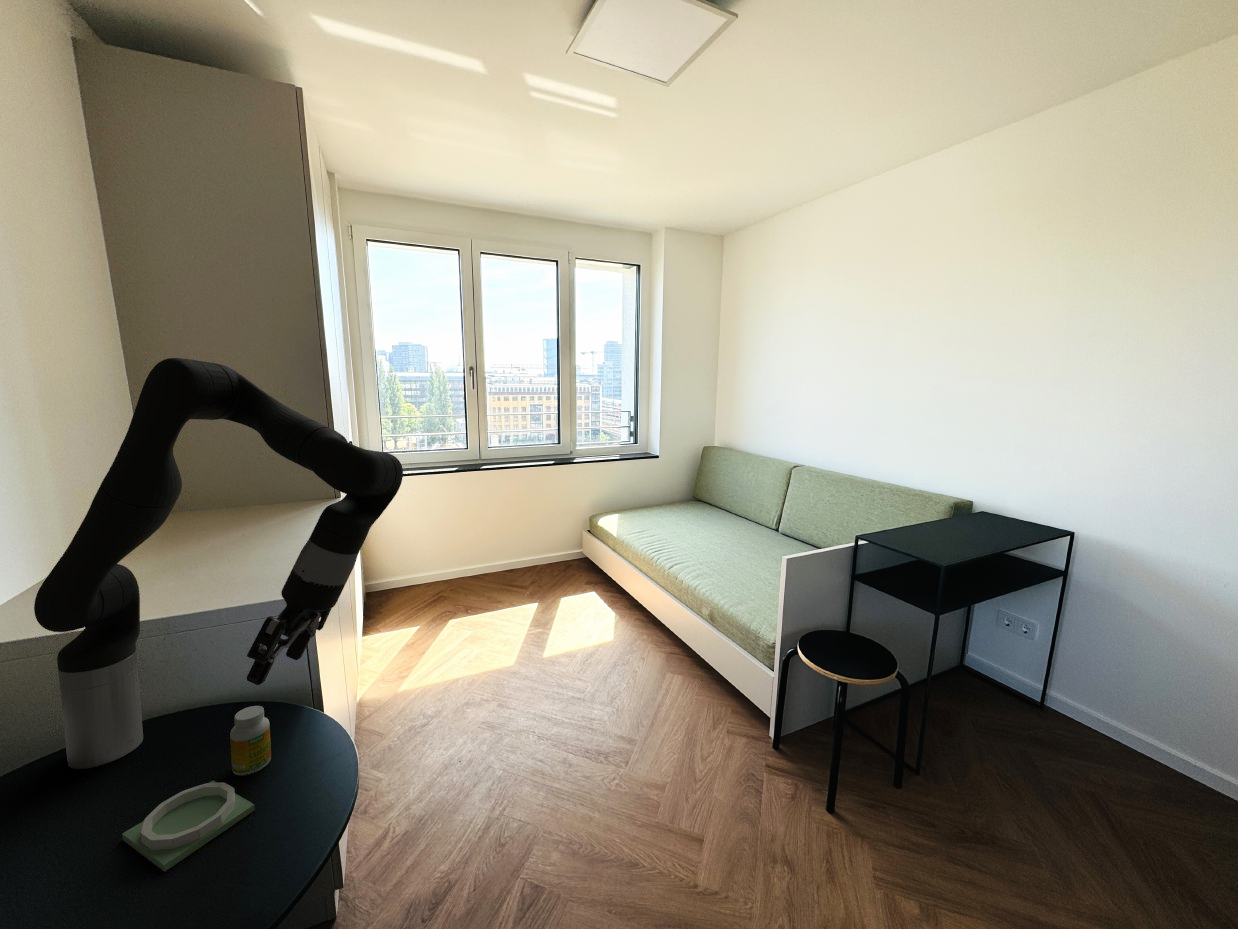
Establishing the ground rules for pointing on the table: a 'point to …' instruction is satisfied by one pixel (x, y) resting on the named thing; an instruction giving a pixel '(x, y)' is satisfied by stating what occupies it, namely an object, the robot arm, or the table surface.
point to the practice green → (187, 823)
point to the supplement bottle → (250, 741)
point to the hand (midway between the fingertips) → (274, 669)
